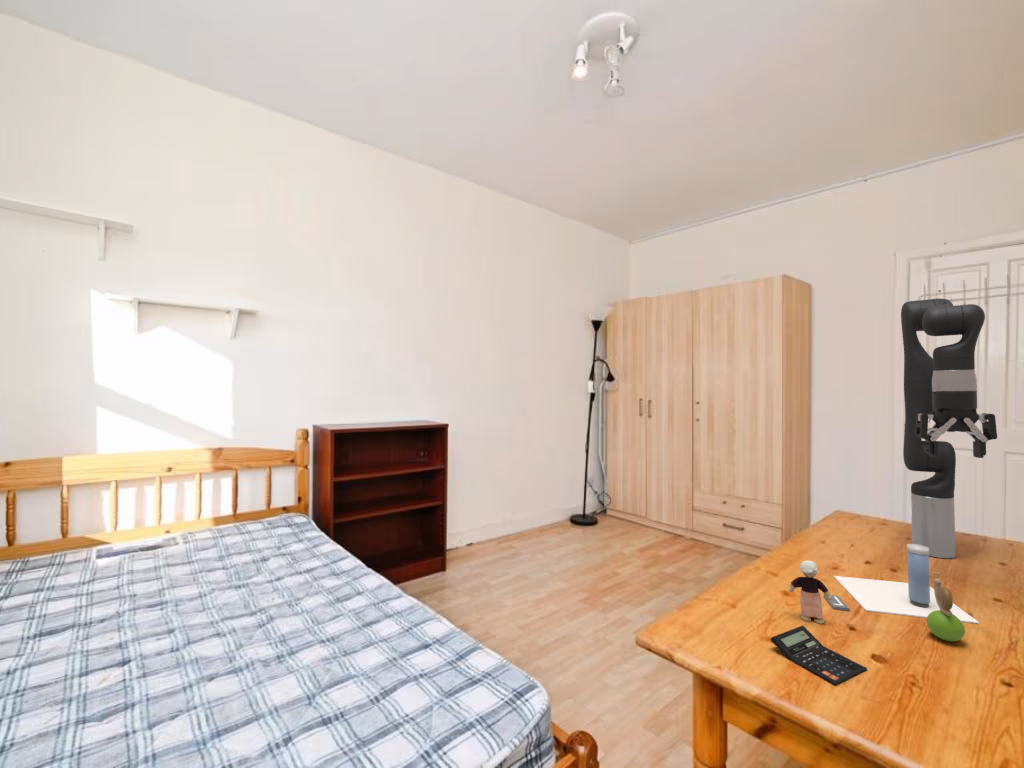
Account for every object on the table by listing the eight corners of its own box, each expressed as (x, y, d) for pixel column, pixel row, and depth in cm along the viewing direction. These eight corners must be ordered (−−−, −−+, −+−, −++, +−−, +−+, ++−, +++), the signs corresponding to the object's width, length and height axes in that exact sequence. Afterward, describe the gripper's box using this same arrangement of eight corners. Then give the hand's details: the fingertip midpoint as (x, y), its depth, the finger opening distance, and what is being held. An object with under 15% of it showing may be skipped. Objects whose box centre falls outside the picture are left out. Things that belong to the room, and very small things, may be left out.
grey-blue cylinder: (904, 599, 102) (903, 543, 102) (924, 601, 101) (922, 544, 101) (914, 607, 99) (912, 548, 99) (934, 609, 97) (932, 550, 98)
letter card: (823, 596, 105) (823, 593, 105) (838, 598, 104) (838, 595, 104) (833, 609, 99) (833, 606, 99) (849, 611, 98) (849, 607, 98)
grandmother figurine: (827, 617, 96) (825, 559, 96) (833, 626, 92) (832, 566, 92) (787, 611, 98) (785, 555, 98) (791, 620, 95) (790, 562, 95)
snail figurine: (954, 632, 89) (953, 573, 89) (971, 650, 83) (969, 587, 83) (920, 626, 91) (918, 569, 91) (934, 643, 86) (932, 582, 86)
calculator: (835, 688, 74) (835, 671, 74) (770, 651, 85) (770, 635, 85) (867, 672, 78) (866, 656, 78) (801, 638, 89) (800, 624, 89)
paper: (833, 576, 115) (833, 575, 115) (927, 586, 109) (927, 584, 109) (865, 610, 98) (865, 609, 98) (979, 624, 92) (979, 622, 92)
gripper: (980, 388, 106) (982, 455, 105) (908, 389, 110) (910, 453, 110) (1004, 388, 98) (1006, 460, 98) (926, 390, 103) (928, 458, 103)
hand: (955, 456), depth 104 cm, fingers open, 8 cm apart
